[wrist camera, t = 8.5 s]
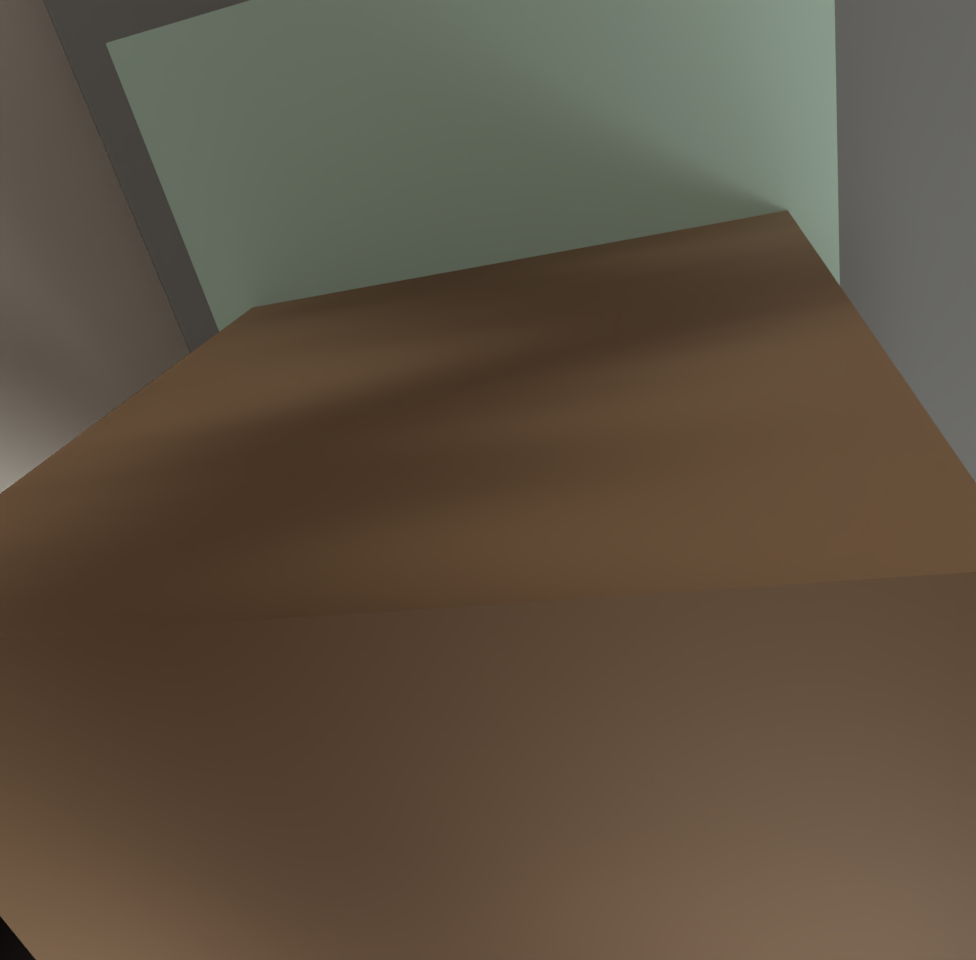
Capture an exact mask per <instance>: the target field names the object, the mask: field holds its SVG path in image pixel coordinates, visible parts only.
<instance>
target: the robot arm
mask: <svg viewBox="0 0 976 960" xmlns="http://www.w3.org/2000/svg"><path fill="white" fill-rule="evenodd" d="M0 960H36V959H35V958H34V957H33V956H32V954H31V953H30V952H29V951H28V949H27V948H26V947H25V946H24V944H23V943H22V942H21V941H20V940H19V938H18V937H17V936H16V935H15V933H14V932H13V931H12V930H11V928H10V927H9V926H8V925H7V924H6V922H5V921H4V920H3V919H2V917H1V916H0Z"/></svg>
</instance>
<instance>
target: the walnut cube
mask: <svg viewBox="0 0 976 960" xmlns="http://www.w3.org/2000/svg"><path fill="white" fill-rule="evenodd" d="M0 916H1V917H2V919H3V920H4V921H5V922H6V924H7V925H8V926H9V927H10V928H11V930H12V931H13V932H14V933H15V935H16V936H17V937H18V938H19V940H20V941H21V942H22V943H23V944H24V946H25V947H26V948H27V949H28V951H29V952H30V953H31V954H32V956H33V957H34V958H35V959H36V960H976V483H975V481H974V480H973V478H972V477H971V475H970V474H969V472H968V471H967V469H966V468H965V467H964V465H963V464H962V462H961V461H960V459H959V458H958V456H957V455H956V453H955V452H954V451H953V449H952V448H951V446H950V445H949V443H948V442H947V440H946V439H945V438H944V436H943V435H942V433H941V432H940V430H939V429H938V427H937V426H936V424H935V423H934V422H933V420H932V419H931V417H930V416H929V414H928V413H927V411H926V410H925V409H924V407H923V406H922V404H921V403H920V401H919V400H918V398H917V397H916V395H915V394H914V393H913V391H912V390H911V388H910V387H909V385H908V384H907V382H906V381H905V380H904V378H903V377H902V375H901V374H900V372H899V371H898V369H897V368H896V366H895V365H894V364H893V362H892V361H891V359H890V358H889V356H888V355H887V353H886V352H885V350H884V349H883V348H882V346H881V345H880V343H879V342H878V340H877V339H876V337H875V336H874V335H873V333H872V332H871V330H870V329H869V327H868V326H867V324H866V323H865V321H864V320H863V319H862V317H861V316H860V314H859V313H858V311H857V310H856V308H855V307H854V306H853V304H852V303H851V301H850V300H849V298H848V297H847V295H846V294H845V292H844V291H843V290H842V288H841V287H840V285H839V284H838V282H837V281H836V279H835V278H834V276H833V275H832V274H831V272H830V271H829V269H828V268H827V266H826V265H825V263H824V262H823V261H822V259H821V258H820V256H819V255H818V253H817V252H816V250H815V249H814V247H813V246H812V245H811V243H810V242H809V240H808V239H807V237H806V236H805V234H804V233H803V232H802V230H801V229H800V227H799V226H798V224H797V223H796V221H795V220H794V218H793V217H792V216H791V214H790V213H789V211H788V210H787V211H782V212H776V213H771V214H765V215H760V216H754V217H749V218H743V219H738V220H732V221H727V222H721V223H716V224H710V225H705V226H699V227H694V228H688V229H683V230H677V231H672V232H666V233H661V234H655V235H650V236H644V237H639V238H633V239H627V240H622V241H616V242H611V243H605V244H600V245H594V246H589V247H583V248H578V249H572V250H567V251H561V252H556V253H550V254H545V255H539V256H534V257H528V258H523V259H517V260H512V261H506V262H501V263H495V264H490V265H484V266H479V267H473V268H468V269H462V270H457V271H451V272H446V273H440V274H435V275H429V276H424V277H418V278H412V279H407V280H401V281H396V282H390V283H385V284H379V285H374V286H368V287H363V288H357V289H352V290H346V291H341V292H335V293H330V294H324V295H319V296H313V297H308V298H302V299H297V300H291V301H286V302H280V303H275V304H269V305H264V306H258V307H253V308H251V309H249V310H248V311H247V312H245V313H244V314H243V315H241V316H240V317H239V318H237V319H236V320H235V321H233V322H232V323H231V324H229V325H228V326H226V327H225V328H224V329H222V330H221V331H220V332H218V333H217V334H216V335H214V336H213V337H212V338H210V339H209V340H208V341H206V342H205V343H203V344H202V345H201V346H199V347H198V348H197V349H195V350H194V351H193V352H191V353H190V354H189V355H187V356H186V357H185V358H183V359H182V360H181V361H179V362H178V363H176V364H175V365H174V366H172V367H171V368H170V369H168V370H167V371H166V372H164V373H163V374H162V375H160V376H159V377H158V378H156V379H155V380H153V381H152V382H151V383H149V384H148V385H147V386H145V387H144V388H143V389H141V390H140V391H139V392H137V393H136V394H135V395H133V396H132V397H130V398H129V399H128V400H126V401H125V402H124V403H122V404H121V405H120V406H118V407H117V408H116V409H114V410H113V411H112V412H110V413H109V414H108V415H106V416H105V417H103V418H102V419H101V420H99V421H98V422H97V423H95V424H94V425H93V426H91V427H90V428H89V429H87V430H86V431H85V432H83V433H82V434H80V435H79V436H78V437H76V438H75V439H74V440H72V441H71V442H70V443H68V444H67V445H66V446H64V447H63V448H62V449H60V450H59V451H57V452H56V453H55V454H53V455H52V456H51V457H49V458H48V459H47V460H45V461H44V462H43V463H41V464H40V465H39V466H37V467H36V468H35V469H33V470H32V471H30V472H29V473H28V474H26V475H25V476H24V477H22V478H21V479H20V480H18V481H17V482H16V483H14V484H13V485H12V486H10V487H9V488H7V489H6V490H5V491H3V492H2V493H1V494H0Z"/></svg>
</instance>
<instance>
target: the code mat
mask: <svg viewBox="0 0 976 960" xmlns="http://www.w3.org/2000/svg"><path fill="white" fill-rule="evenodd" d="M43 1H44V3H45V6H46V8H47V10H48V13H49V15H50V18H51V20H52V22H53V25H54V27H55V30H56V32H57V34H58V37H59V39H60V42H61V44H62V46H63V49H64V51H65V54H66V56H67V58H68V61H69V63H70V65H71V68H72V70H73V73H74V75H75V77H76V80H77V82H78V85H79V87H80V89H81V92H82V94H83V97H84V99H85V101H86V104H87V106H88V109H89V111H90V113H91V116H92V118H93V121H94V123H95V125H96V128H97V130H98V133H99V135H100V137H101V140H102V142H103V145H104V147H105V149H106V152H107V154H108V157H109V159H110V161H111V164H112V166H113V168H114V171H115V173H116V176H117V178H118V180H119V183H120V185H121V188H122V190H123V192H124V195H125V197H126V200H127V202H128V204H129V207H130V209H131V212H132V214H133V216H134V219H135V221H136V224H137V226H138V228H139V231H140V233H141V236H142V238H143V240H144V243H145V245H146V248H147V250H148V252H149V255H150V257H151V260H152V262H153V264H154V267H155V269H156V271H157V274H158V276H159V279H160V281H161V283H162V286H163V288H164V291H165V293H166V295H167V298H168V300H169V303H170V305H171V307H172V310H173V312H174V315H175V317H176V319H177V322H178V324H179V327H180V329H181V331H182V334H183V336H184V339H185V341H186V343H187V346H188V348H189V351H190V353H191V352H193V351H194V350H195V349H197V348H198V347H199V346H201V345H202V344H203V343H205V342H206V341H208V340H209V339H210V338H212V337H213V336H214V335H216V334H217V333H218V332H220V331H221V330H222V329H224V328H225V327H226V326H228V325H229V324H231V323H232V322H233V321H235V320H236V319H237V318H239V317H240V316H241V315H243V314H244V313H245V312H247V311H248V310H249V309H251V308H253V307H258V306H264V305H269V304H275V303H280V302H286V301H291V300H297V299H302V298H308V297H313V296H319V295H324V294H330V293H335V292H341V291H346V290H352V289H357V288H363V287H368V286H374V285H379V284H385V283H390V282H396V281H401V280H407V279H412V278H418V277H424V276H429V275H435V274H440V273H446V272H451V271H457V270H462V269H468V268H473V267H479V266H484V265H490V264H495V263H501V262H506V261H512V260H517V259H523V258H528V257H534V256H539V255H545V254H550V253H556V252H561V251H567V250H572V249H578V248H583V247H589V246H594V245H600V244H605V243H611V242H616V241H622V240H627V239H633V238H639V237H644V236H650V235H655V234H661V233H666V232H672V231H677V230H683V229H688V228H694V227H699V226H705V225H710V224H716V223H721V222H727V221H732V220H738V219H743V218H749V217H754V216H760V215H765V214H771V213H776V212H782V211H787V210H788V211H789V213H790V214H791V216H792V217H793V218H794V220H795V221H796V223H797V224H798V226H799V227H800V229H801V230H802V232H803V233H804V234H805V236H806V237H807V239H808V240H809V242H810V243H811V245H812V246H813V247H814V249H815V250H816V252H817V253H818V255H819V256H820V258H821V259H822V261H823V262H824V263H825V265H826V266H827V268H828V269H829V271H830V272H831V274H832V275H833V276H834V278H835V279H836V281H837V282H838V284H839V285H840V287H841V288H842V290H843V291H844V292H845V294H846V295H847V297H848V298H849V300H850V301H851V303H852V304H853V306H854V307H855V308H856V310H857V311H858V313H859V314H860V316H861V317H862V319H863V320H864V321H865V323H866V324H867V326H868V327H869V329H870V330H871V332H872V333H873V335H874V336H875V337H876V339H877V340H878V342H879V343H880V345H881V346H882V348H883V349H884V350H885V352H886V353H887V355H888V356H889V358H890V359H891V361H892V362H893V364H894V365H895V366H896V368H897V369H898V371H899V372H900V374H901V375H902V377H903V378H904V380H905V381H906V382H907V384H908V385H909V387H910V388H911V390H912V391H913V393H914V394H915V395H916V397H917V398H918V400H919V401H920V403H921V404H922V406H923V407H924V409H925V410H926V411H927V413H928V414H929V416H930V417H931V419H932V420H933V422H934V423H935V424H936V426H937V427H938V429H939V430H940V432H941V433H942V435H943V436H944V438H945V439H946V440H947V442H948V443H949V445H950V446H951V448H952V449H953V451H954V452H955V453H956V455H957V456H958V458H959V459H960V461H961V462H962V464H963V465H964V467H965V468H966V469H967V471H968V472H969V474H970V475H971V477H972V478H973V480H974V481H975V483H976V0H43Z"/></svg>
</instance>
